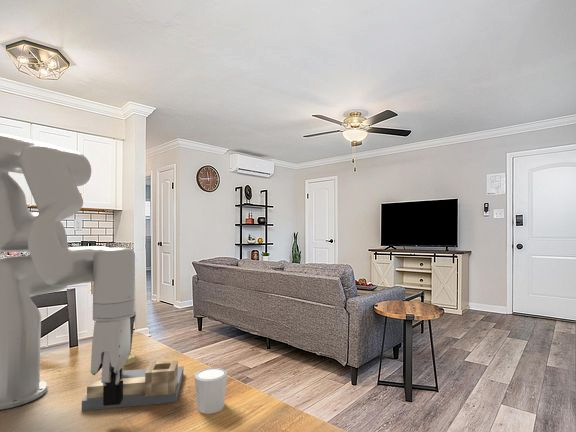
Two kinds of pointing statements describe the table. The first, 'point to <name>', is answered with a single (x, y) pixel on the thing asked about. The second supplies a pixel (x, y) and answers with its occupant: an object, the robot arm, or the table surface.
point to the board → (134, 398)
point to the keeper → (130, 359)
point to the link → (145, 381)
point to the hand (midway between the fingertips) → (113, 402)
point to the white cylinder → (210, 389)
